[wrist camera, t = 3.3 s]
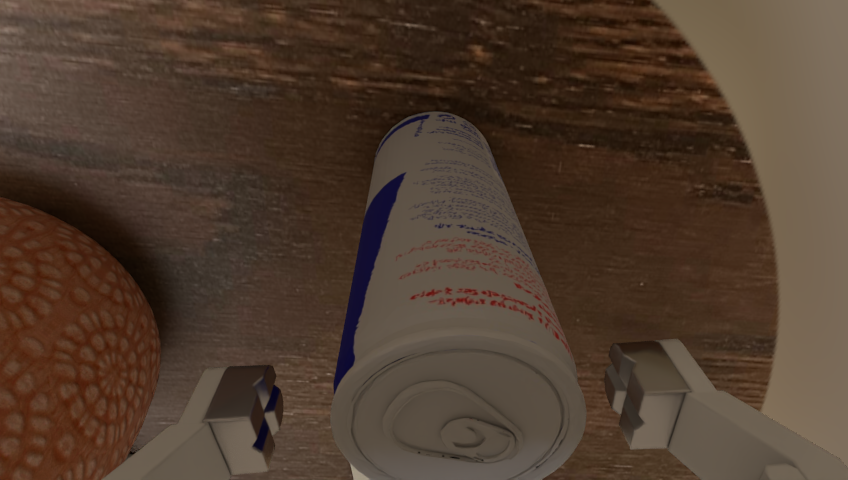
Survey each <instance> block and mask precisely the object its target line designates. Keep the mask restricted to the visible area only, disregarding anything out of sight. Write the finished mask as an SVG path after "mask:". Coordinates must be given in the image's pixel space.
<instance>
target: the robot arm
mask: <svg viewBox="0 0 848 480" xmlns="http://www.w3.org/2000/svg"><path fill="white" fill-rule="evenodd" d="M609 358H610V360H611V362H612V364H611V365H610V366H609V367H608V368H607V369H606V371H605V378H604V382H605V391H606V395H607V399H608V401H609V403H610V406H611V408H612V409H613V410H614V411H616V412H617V413H618V414H620V415H621V418H620V422H619V426H620V428H621V430H622V432H623V434H624V437H625V439H626V441H627V443H628V445H629V447H630V449H655V448H668V451H669V452H671V453H672V454H673V455H674V456H675V457H676V458H677V459H679V460H680V461H681V462H682V463H683V464H684V465H685V466H687V467H688V468H689V469H690V470H691V471H692V472H693V473H694V474H696V475H697V476H698V477H699V478H700V479H701V480H848V468H847V466H846V465H845V464H844V463H843V462H842V461H841V459H840V458H838V457H836V456H834V455H833V454H831V453H829V452H828V451H826V450H824V449H822V448H821V447H819V446H817V445H816V444H814V443H812V442H810V441H809V440H807V439H805V438H804V437H802V436H800V435H798V434H797V433H795V432H793V431H791V430H790V429H788V428H786V427H785V426H783V425H781V424H779V423H778V422H776V421H775V420H773V419H771V418H769V417H768V416H766V415H764V414H763V413H761V412H759V411H757V410H756V409H754V408H752V407H751V406H749V405H747V404H745V403H744V402H742V401H740V400H739V399H737V398H735V397H734V396H732V395H730V394H728V393H727V392H725V391H717V390H716V389H715V388H714V386H713V385H712V383H711V382H710V381H709V379H708V378H707V377H706V375H705V374H704V372H703V371H702V370H701V368H700V367H699V366H698V364H697V363H696V361H695V360H694V359H693V357H692V356H691V355H690V353H689V352H688V350H687V349H686V348H685V346H684V345H683V344H682V342H681V341H679V340H678V339H667V340H655V341H641V342H627V343H613V344H612V346H611V347H610V351H609ZM275 379H276V373H275V371H274V368H273V366H271V365H257V366H230V367H214V368H208V369H206V370H205V371H204V372H203V373H202V375H201V378H200V380H199V382H198V384H197V386H196V388H195V390H194V392H193V394H192V396H191V398H190V400H189V402H188V404H187V406H186V408H185V410H184V412H183V414H182V416H181V418H180V420H179V422H178V424H174V425H170V426H169V427H167V428H166V429H165V430H164V431H162V432H161V433H160V434H159V435H157V436H156V437H155V438H154V439H152V440H151V441H150V442H149V443H147V444H146V445H145V446H143V447H142V448H141V449H140V450H138V451H137V452H136V453H135V454H133V455H132V456H131V457H130V458H128V459H127V460H126V461H125V462H123V463H122V464H121V465H120V466H118V467H117V468H116V469H115V470H113V471H112V472H111V473H109V474H108V475H107V476H106V477H104V478H103V479H102V480H229V479H230V478H231V475H236V474H247V473H258V472H268V470H269V467H270V463H271V460H272V456H273V452H274V449H275V443H274V440H273V437H272V436H273V435H274V434H275V433H276V432H277V431H278V430H279V429H280V426H281V422H282V418H283V397H282V393H281V390H280V389H279V388H278V387H277V386H275V385H274V383H275Z"/></svg>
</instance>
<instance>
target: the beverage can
mask: <svg viewBox="0 0 848 480" xmlns="http://www.w3.org/2000/svg"><path fill="white" fill-rule="evenodd" d="M330 422H331V428H332V433H333V437H334V440H335V442H336V445H337V447H338V448H339V450H340V451H341V452H342V454H343V455H344V456H345V458H346V459H347V460H348V461H349V462H350V464H351V465H353V466H354V467H355V468H356V469H357V470H358V471H359V472H360V473H362V474H363V475H365V476H366V477H367V478H369V479H370V480H541V479H542V478H544V477H546V476H548V475H549V474H551V473H552V472H554V471H555V470H556V469H558V468H559V467H560V466H561V465H562V464H563V463H564V462H565V461H566V460H567V459H568V458H569V457H570V456H571V455H572V453H573V451H574V450H575V448H576V447H577V445H578V443H579V442H580V440H581V438H582V436H583V432H584V429H585V423H586V406H585V401H584V396H583V394H582V391H581V389H580V387H579V385H578V380H577V371H576V366H575V363H574V359H573V356H572V353H571V351H570V348H569V346H568V343H567V341H566V338H565V336H564V333H563V331H562V328H561V326H560V323H559V321H558V318H557V316H556V313H555V311H554V308H553V306H552V303H551V301H550V298H549V296H548V293H547V291H546V288H545V286H544V283H543V281H542V278H541V275H540V273H539V270H538V268H537V265H536V263H535V260H534V258H533V255H532V253H531V250H530V248H529V245H528V243H527V240H526V238H525V235H524V233H523V230H522V228H521V225H520V223H519V220H518V218H517V215H516V213H515V210H514V208H513V205H512V203H511V200H510V198H509V195H508V193H507V190H506V188H505V185H504V183H503V180H502V178H501V175H500V173H499V170H498V168H497V165H496V163H495V160H494V158H493V155H492V153H491V150H490V148H489V145H488V143H487V141H486V139H485V138H484V136H483V135H482V134H481V132H480V131H479V130H478V129H477V128H476V127H475V126H474V125H472V124H471V123H470V122H468V121H467V120H465V119H463V118H461V117H459V116H457V115H453V114H450V113H446V112H437V111H435V112H423V113H419V114H415V115H412V116H410V117H407V118H405V119H403V120H402V121H400V122H399V123H397V124H396V125H395V126H394V127H392V128H391V129H390V130H389V131H388V133H387V134H386V135H385V136H384V137H383V139H382V141H381V143H380V144H379V147H378V149H377V152H376V156H375V160H374V168H373V173H372V178H371V184H370V189H369V195H368V200H367V205H366V211H365V216H364V222H363V227H362V233H361V238H360V243H359V249H358V254H357V260H356V265H355V270H354V276H353V281H352V287H351V292H350V297H349V303H348V308H347V314H346V319H345V324H344V330H343V335H342V341H341V346H340V352H339V357H338V362H337V368H336V373H335V379H334V398H333V402H332V407H331V419H330Z"/></svg>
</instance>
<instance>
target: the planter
mask: <svg viewBox="0 0 848 480" xmlns="http://www.w3.org/2000/svg"><path fill="white" fill-rule="evenodd" d="M160 364H161V345H160V337H159V332H158V327H157V323H156V320H155V317H154V314H153V312H152V310H151V307H150V305H149V303H148V301H147V299H146V297H145V295H144V294H143V292H142V290H141V289H140V287H139V286H138V284H137V283H136V282H135V280H134V279H133V278H132V276H131V275H130V274H129V273H128V271H127V270H126V269H125V268H124V267H123V266H122V265H121V263H120V262H119V261H118V260H117V259H116V258H115V257H114V256H113V255H111V254H110V253H109V252H108V251H107V250H106V249H105V248H103V247H102V246H101V245H100V244H98V243H97V242H96V241H95V240H93V239H92V238H90V237H89V236H87V235H86V234H84V233H83V232H81V231H80V230H78V229H77V228H75V227H73V226H72V225H70V224H68V223H66V222H64V221H62V220H60V219H58V218H56V217H54V216H52V215H50V214H48V213H45V212H43V211H41V210H39V209H36V208H33V207H31V206H28V205H25V204H23V203H20V202H16V201H13V200H10V199H6V198H2V197H0V480H102V479H103V478H104V477H106V476H107V475H108V474H109V473H111V472H112V471H113V470H115V469H116V468H117V467H118V466H120V465H121V464H122V463H123V462H125V460H126V458H127V456H128V454H129V452H130V450H131V448H132V446H133V444H134V442H135V440H136V438H137V436H138V434H139V432H140V429H141V427H142V425H143V422H144V420H145V417H146V415H147V412H148V409H149V407H150V404H151V401H152V399H153V396H154V393H155V390H156V386H157V383H158V378H159V372H160Z"/></svg>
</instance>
